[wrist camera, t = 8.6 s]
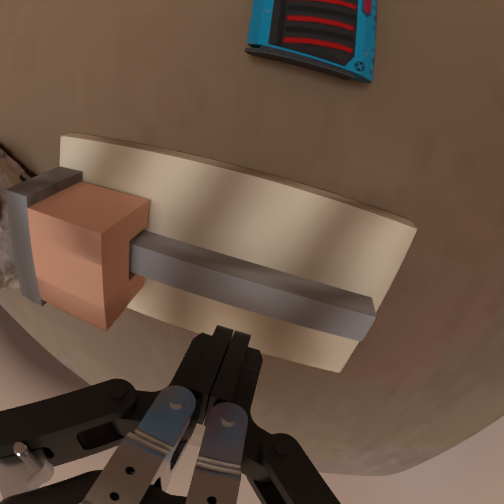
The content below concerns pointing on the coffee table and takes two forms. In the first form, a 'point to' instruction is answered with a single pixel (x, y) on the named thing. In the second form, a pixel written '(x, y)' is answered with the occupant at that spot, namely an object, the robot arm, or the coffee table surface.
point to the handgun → (317, 35)
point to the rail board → (234, 248)
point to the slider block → (87, 250)
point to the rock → (3, 177)
